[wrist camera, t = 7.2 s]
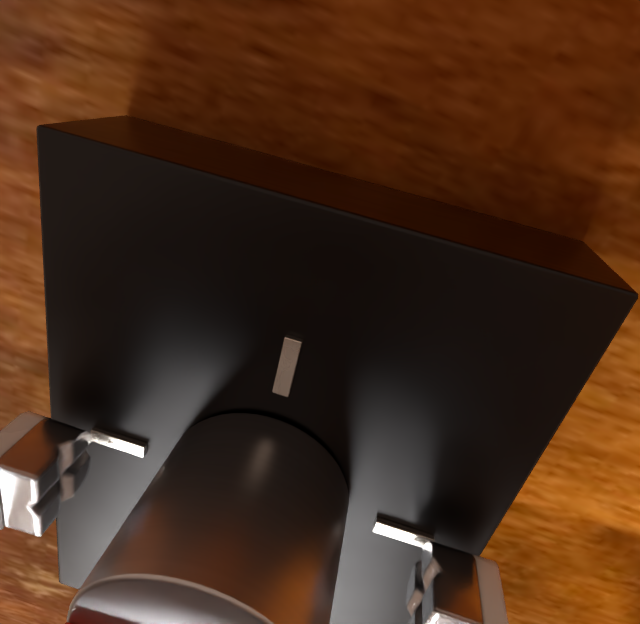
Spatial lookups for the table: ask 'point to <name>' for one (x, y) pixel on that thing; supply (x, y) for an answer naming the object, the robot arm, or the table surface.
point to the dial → (227, 533)
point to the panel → (306, 337)
